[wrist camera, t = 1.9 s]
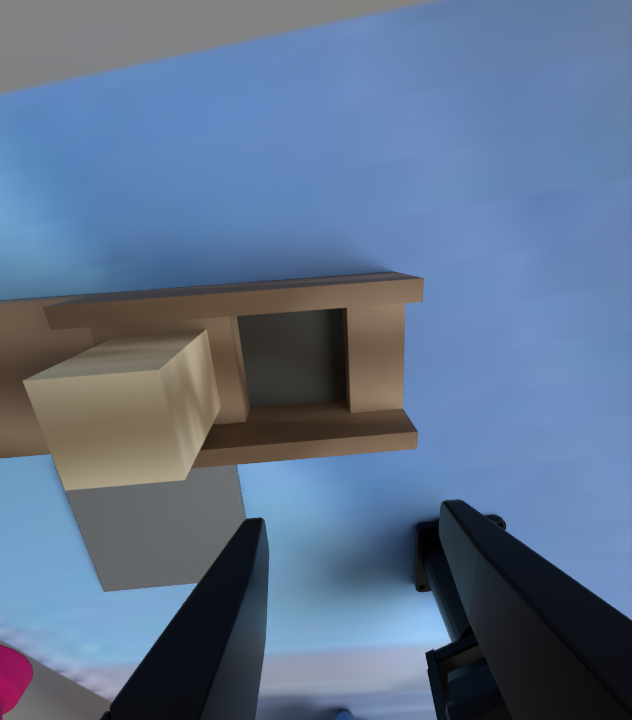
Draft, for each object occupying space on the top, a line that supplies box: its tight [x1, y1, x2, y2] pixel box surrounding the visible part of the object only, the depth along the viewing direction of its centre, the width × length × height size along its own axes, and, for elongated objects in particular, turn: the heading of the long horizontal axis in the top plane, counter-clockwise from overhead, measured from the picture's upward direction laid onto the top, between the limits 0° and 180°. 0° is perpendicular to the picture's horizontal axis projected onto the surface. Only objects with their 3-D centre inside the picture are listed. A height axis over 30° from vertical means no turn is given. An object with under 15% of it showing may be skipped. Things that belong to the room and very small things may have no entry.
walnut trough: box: [0, 272, 424, 468], centre depth 17 cm, size 8×24×4 cm, turn 94°
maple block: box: [23, 329, 221, 491], centre depth 14 cm, size 4×4×6 cm
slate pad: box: [55, 465, 246, 592], centre depth 23 cm, size 11×11×1 cm
